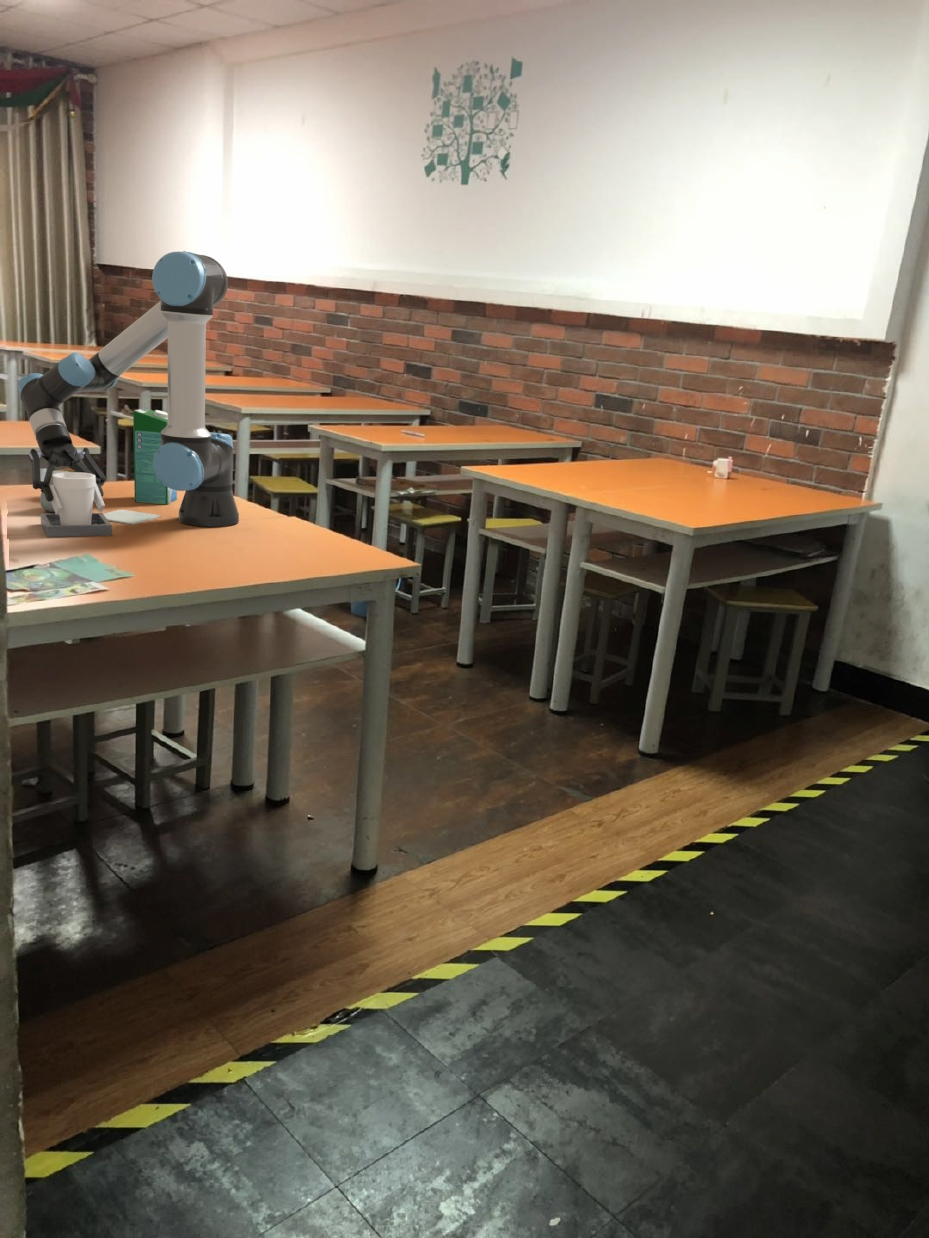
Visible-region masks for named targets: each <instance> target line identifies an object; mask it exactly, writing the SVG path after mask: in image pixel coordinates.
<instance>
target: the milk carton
mask: <svg viewBox="0 0 929 1238" xmlns="http://www.w3.org/2000/svg"><path fill="white" fill-rule="evenodd" d="M132 416H133V418H132V419H133V420H132V421H133V422H132V423H133V424H132V425H133V428H132V429H133V430H132V431H133V477H134V479H133V480H134V481H133V482H134V483H133V485H134V488H133V489H134V502H135V503H145V504H154V505H169V504H170V503H172V502H174V501H176V500H177V498H178V497H177V496H178V495H177V494H178V491H177V490H173V489H170V488H168V487H167V486H165V485H164V484H163V483H162V482H161V481H160V480H159V479H158V477H157V475H156V473H155V471H154V467H153V459H154V455H155V453H156V451H157V450H158V449H159V448H160V446H161V431H162V430H163V429H164V428H165V427H166V426H167V425H168V412H166V411H162V410H158V409H155V410H152V409H149V408H147V407H142V408H139V409H138V408H137V409H134V410H133V411H132Z"/></svg>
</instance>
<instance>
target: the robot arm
mask: <svg viewBox="0 0 929 1238" xmlns="http://www.w3.org/2000/svg"><path fill="white" fill-rule="evenodd" d="M152 270H153V271H152V276H151V281H152V287H153V289H154V292H155V294H156V295H157V296H158V297H159V299H160V301H159V302H157V303H156V304H155V305H153V306H152V307H151V308H150V309H149V310H147V311H146V312H145V313H144V314H143V315H141V316H140V317H138V318H137V319H136V320H135V321H134V322H133V323H131V324H130V325H129V326H128V327H127V328H125V329H124V330H123V331H122V332H120V333H119V334H118V335H117V336H115V337H114V338H113V339H112V340H111V341H110V342H108V343H107V344H106V345H105V346H103V347H102V348H101V349H100V350H99V351H97V352H95V354H94V355H92V357H90V358H87V357H86V356H84V354H83V355H82V354H81V353H80V352H72V353H70V354H68V355H67V356H66V357H65V356H64V357H62V358H61V360H59V362H57V363H56V364H55V365H54V366H53V367H52V368H50V369H49V370H48V371H46V372H45V373H44V374H42V373H37V372H36V373H35V372H34V373H30V374H29V375H23V376H22V377H21V378H20V379H19V381H17V390H18V394H19V400H20V401H21V404H22V405H23V407H24V410H25V412H26V414H27V417H28V421H29V424H30V426H31V429H32V432H33V434H34V436H35V440H36V442H37V446H38V448H39V449H38V450H36V449H35V448H31V449H30V451H29V455H28V458H29V461H30V462H31V463H30V464H31V477H32V489H34V490H40V492H41V493H44V494H45V497H46V500H47V501H51V503H52V506H53V508H54V511H55V513H54V514H56V515H59V514H60V512H61V510H62V506H61V504H60V501H59V498H58V496H57V493H56V490H55V488H54V485H50V486H49V484H50V480H51V476H52V473H53V471H54V469H55V467H56V468H59V467H68V468H69V469H72V470H75V471H76V472H82V473H90V474H93V475H95V476H96V487H95V491H94V500H93V502H94V503H95V507H96V509H97V511H98V513H103V512H102V511H103V510H104V508H105V506H106V504H105V502H104V499H103V497H104V490H103V486H104V484H105V483H106V480H107V477H106V475H105V474H104V473H103V471H102V470H101V469H100V467H99V466H98V464H97V463H96V461H95V459H93V457H92V456H91V454H90V453H91V452H90V450H89V448H88V447H83V449H77V447H75V446H74V443H73V440H72V438H71V437H72V436H71V435H70V432H69V429H68V428H67V423H66V422H65V419H64V417H63V414H62V412H61V409H60V405H61V404H63V403H64V402H66V401H67V400H69V399H70V398H71V397H73V396H74V395H75V394H77V393H85V392H94V391H100V392H101V391H102V392H103V391H106V390H109V389H112V388H113V387H115V386H116V385H117V384H118V380H119V378H120V376H122V375H123V374H124V373H126V371H129V369H130V368H132V367H133V366H134V365H136V364H137V363H138V362H139V361H140V360H142V359H143V358H144V357H145V356H147V355H148V354H149V353H150V352H151V351H153V350H154V349H155V348H157V347H158V346H160V345H161V344H162V343H163V342H164V341H166V340H167V413H168V425H167V426H166V427H165V428H164V429H163V430H162V431H161V446H160V448H159V449H158V450H157V451H156V453H155V455H154V459H153V467H154V471H155V473H156V475H157V477H158V479H159V480H160V481H161V482H162V483H163V484H164V485H165V486H167V487H168V488H170V489H173V490H177V492H184V491H185V492H184V496H183V497H182V502H181V504H180V506H179V510H178V521H179V522H181V523H182V524H186V525H190V526H197V527H209V528H211V527H214V528H216V527H229V526H234V525H236V524H238V523H239V521H240V520H239V519H240V517H239V516H240V514H239V510H238V506H237V503H236V500H235V497H234V494H233V471H234V467H233V466H234V465H233V464H234V444H233V442H234V441H233V437H232V436H231V435H230V434H227V433H222V432H221V433H219V432H212V431H211V432H210V431H209V430H208V429H207V428H206V362H207V361H206V358H207V357H206V356H207V355H206V353H207V352H206V349H207V348H206V347H207V338H206V337H207V324H208V322H209V321H210V320H211V319H213V316H214V308H216V307H217V305H219V304H220V303H221V302H222V301H223V300H224V298H225V296H226V294H227V291H228V287H229V283H228V282H229V281H228V280H229V279H228V275H227V273H226V270H225V269H224V267H223V266H222V265H221V263H219V261H217V260H216V259H215V258H213V257H211V256H209V255H206V254H205V255H204V254H197V253H194V252H190V251H186V250H184V251H172V252H167V253H166V254H164V255H163V256H162V257H160V258H159V259H158V261H157V262H156V263H155V265H154V268H153V269H152ZM41 458H43V459H44V460H45V461H46V462H48V463H47V467H46V470H45V471H46V472H45V475H44V478H43V480H42V481H41V462H40V461H41V460H40V459H41ZM81 460H82V462H81Z"/></svg>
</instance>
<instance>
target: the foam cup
mask: <svg viewBox="0 0 929 1238" xmlns="http://www.w3.org/2000/svg"><path fill="white" fill-rule="evenodd" d="M53 485H54V488H55V490H56V493H57V496H58V498H59V501H60V504H61V506H62V510H61V512H60V514H59V516H60V522H61V525H92V524H91V519H92V513H93V507H94V491H95V487H96V476H95V475H93V474H90V473H82V472H61V473H55V474H53Z"/></svg>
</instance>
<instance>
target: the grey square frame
mask: <svg viewBox="0 0 929 1238" xmlns="http://www.w3.org/2000/svg"><path fill="white" fill-rule="evenodd" d="M103 514H104V513H103V512H92V519H91V525H61V522H60V516H59V515H56V514H55V513H40V525H41V527H42V529H43V531H44V533H45V535H46V537H47V538H70V537H71V538H73V537H75V538H76V537H94V536H95V537H105V536H106V537H107V536H109V537H110V536H113V528H112V527H113V526H112V524H111V521H108V520H107V519H106V517H105V516H104V515H103Z"/></svg>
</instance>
